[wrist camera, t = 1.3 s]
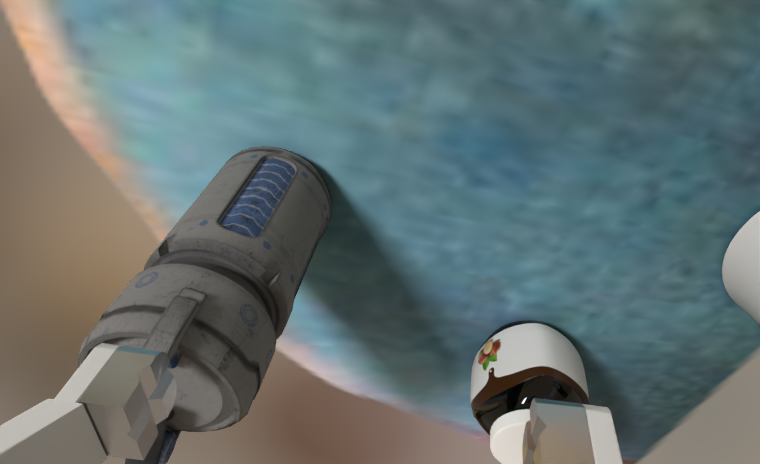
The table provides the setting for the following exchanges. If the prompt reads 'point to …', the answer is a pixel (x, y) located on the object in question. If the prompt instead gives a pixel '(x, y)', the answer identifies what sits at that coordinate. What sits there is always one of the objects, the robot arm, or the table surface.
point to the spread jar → (522, 381)
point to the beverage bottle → (222, 289)
